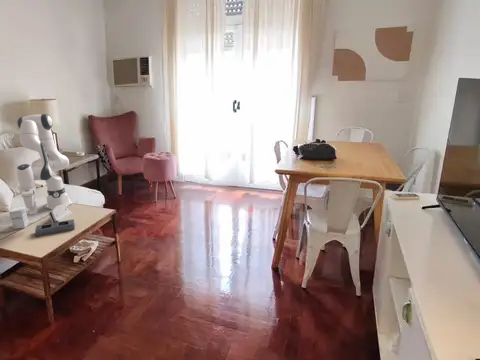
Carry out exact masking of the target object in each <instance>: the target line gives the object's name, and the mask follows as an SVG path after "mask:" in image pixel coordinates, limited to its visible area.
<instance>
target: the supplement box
mask: <svg viewBox="0 0 480 360" xmlns="http://www.w3.org/2000/svg"><path fill="white" fill-rule="evenodd" d="M9 217H10V220H11V224H12V229H13V230H16V229H25V228H26V227H28V225H29V224H30V222H29V217H28V214H27V208H26V206H23V207H22V206H21V207H13V208H12V209H10V210H9Z"/></svg>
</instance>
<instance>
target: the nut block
mask: <svg viewBox="0 0 480 360" xmlns="http://www.w3.org/2000/svg"><path fill="white" fill-rule="evenodd" d="M33 208H34V211H31V210H30V208H27V209H28V213H29V215H36V214H38V207H37V202H36V200H35V201H34V205H33Z"/></svg>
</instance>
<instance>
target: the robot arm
mask: <svg viewBox="0 0 480 360" xmlns="http://www.w3.org/2000/svg"><path fill="white" fill-rule="evenodd" d="M53 121H54V120H53V119H52V117H51V116H50V115H49V114H46V113H42V114H31V115H26V116H24V115H23V116H21V117H19V118H18V119H17V122H16V123H17V127H18V129H19V142H20V145H21V146H22V147H24V148H25V149H28V150H30V151H34V152H37V153H38V154H39V159H36V160H33V161H32V162H31V164H29V163H28V164H27V163H25V164H20V165H18V166H17V167H16V176H17V181H18V182H19V190H20V194H21V197H22V199H23V202H24V205H25V206H24V207H25V209H28V208H30V210H31V211H34V208H33V205H34V202H35V201H36V198H37V196H36V193H37V185H36V184H37V183H36V182H35V181H45V183H46V189H47V190H46V192H47V196H46V203H47V204H48V206H47V204H46V206H47V208H46V209H50V210H52V209H53V208H54V207H56V206H59V205H64V204H65V205H66V206H67V207H68V206H70V205H73V201H72V200H71V199H70V197H69V194H68V192H67V193H66V188H65V186H64V183H63V178H62V177H61V176H60V175H55V174H53V172H56V171H61V170H64V169H66V168H68V167H69V166H70V160H69V158H68V157H67V156H66V155H64V154H62V153H61V152H60V151H59V150H58V148H57V147H56V144H55V140H54V136H53V133H52V129H51V128H52V127H53V124H54V123H53Z"/></svg>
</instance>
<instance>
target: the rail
mask: <svg viewBox="0 0 480 360" xmlns="http://www.w3.org/2000/svg"><path fill="white" fill-rule="evenodd" d="M75 227H76V226H75V219H68V220H62V221H61V222H58V221H56V222H53V223H52V222H50V223H46V224H41V225H36V226H35V230H34V231H35V232H34V233H35V235H36V237H37V238H38V237H43V236H48V235H52V234H58V233H65V232H69V231H73V230H76V229H75Z"/></svg>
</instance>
